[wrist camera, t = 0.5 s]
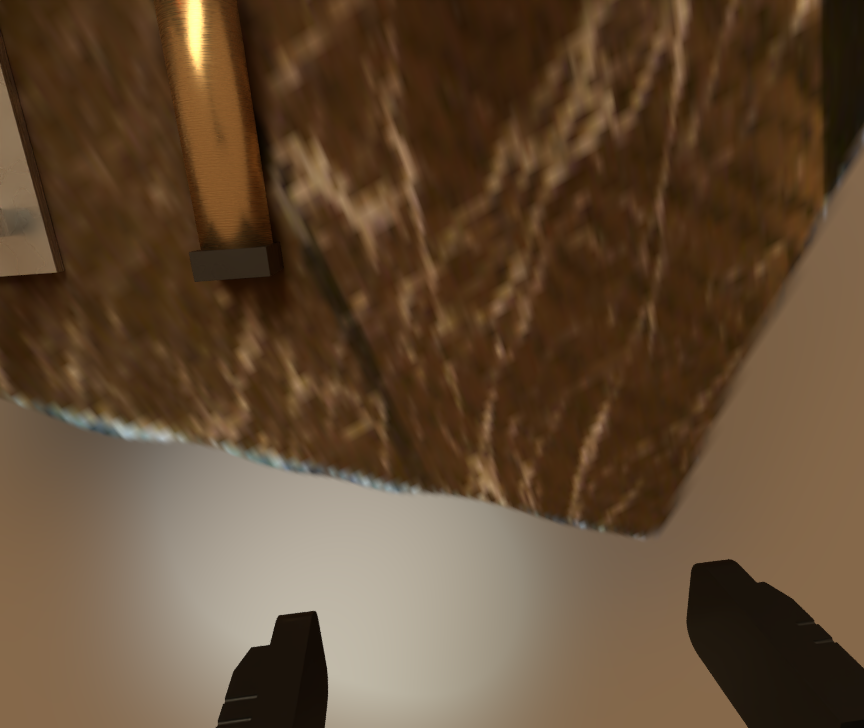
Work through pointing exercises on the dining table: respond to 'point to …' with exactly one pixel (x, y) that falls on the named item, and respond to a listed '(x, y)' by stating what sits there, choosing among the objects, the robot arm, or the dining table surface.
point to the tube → (218, 138)
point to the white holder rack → (21, 192)
